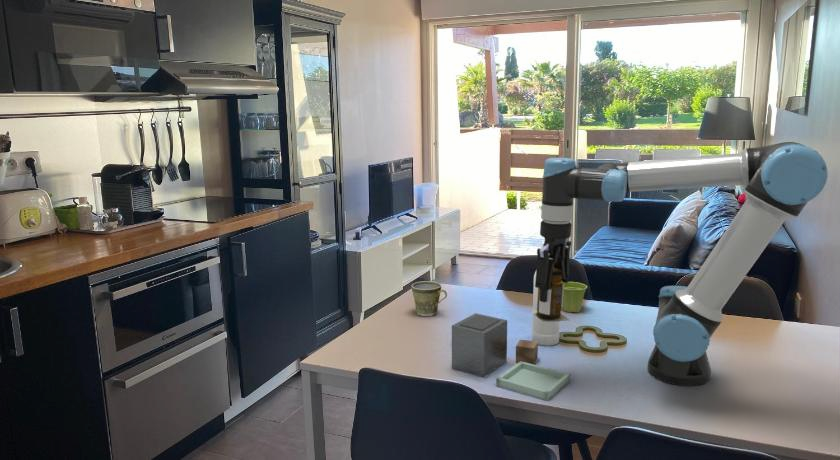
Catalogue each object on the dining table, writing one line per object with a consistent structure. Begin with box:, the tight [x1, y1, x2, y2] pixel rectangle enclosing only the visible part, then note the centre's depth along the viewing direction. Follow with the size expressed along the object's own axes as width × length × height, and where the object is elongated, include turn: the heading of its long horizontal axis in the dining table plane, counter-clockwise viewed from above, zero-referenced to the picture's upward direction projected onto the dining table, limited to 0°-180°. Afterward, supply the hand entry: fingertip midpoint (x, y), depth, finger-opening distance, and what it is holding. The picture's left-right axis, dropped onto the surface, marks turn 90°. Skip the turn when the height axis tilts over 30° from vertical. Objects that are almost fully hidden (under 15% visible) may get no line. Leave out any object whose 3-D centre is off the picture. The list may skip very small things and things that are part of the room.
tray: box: [495, 361, 571, 402], centre depth 158 cm, size 14×13×2 cm
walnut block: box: [515, 339, 539, 365], centre depth 171 cm, size 5×5×5 cm
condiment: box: [529, 268, 570, 322], centre depth 158 cm, size 7×8×12 cm
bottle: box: [531, 241, 561, 347], centre depth 183 cm, size 8×8×30 cm
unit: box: [451, 313, 508, 378], centre depth 168 cm, size 10×12×12 cm
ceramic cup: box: [411, 280, 448, 317], centre depth 209 cm, size 13×10×10 cm
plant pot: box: [561, 281, 588, 313], centre depth 212 cm, size 9×9×9 cm
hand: (550, 309), depth 159 cm, fingers closed on condiment, 6 cm apart
